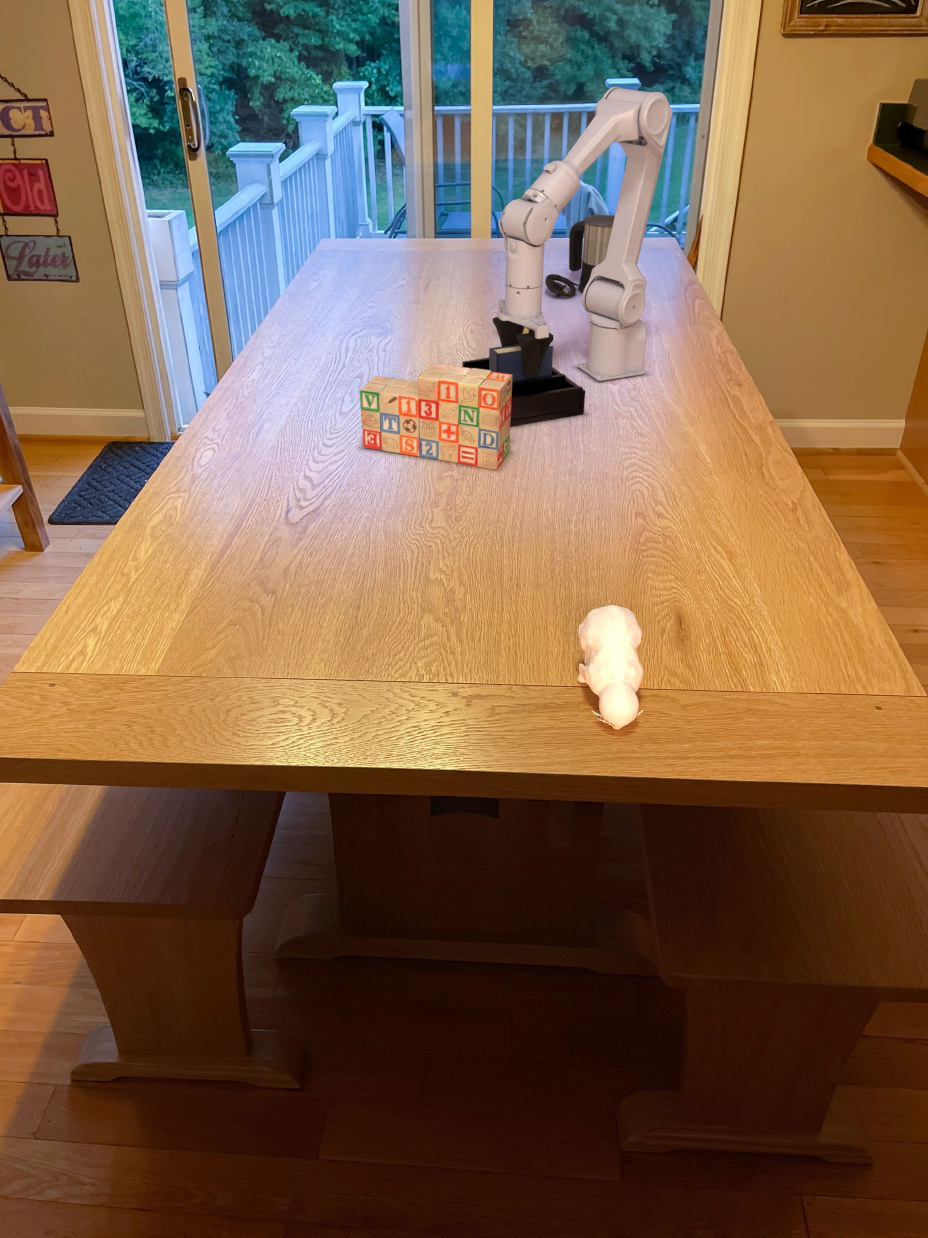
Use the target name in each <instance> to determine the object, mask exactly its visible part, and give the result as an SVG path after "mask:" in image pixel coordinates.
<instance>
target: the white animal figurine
mask: <svg viewBox="0 0 928 1238" xmlns="http://www.w3.org/2000/svg"><path fill="white" fill-rule="evenodd" d="M577 634H578V637H579V640H578V641H579V645H580V647H581V649H582V651H584V654H583V655H584V659H583V663H579V664H578V672H579V673H578V675H577V680H578V682H579V683H580V684H586V685H588V687H589V688H590V690H591V692H593V694H595V695H597V697H598V698H599V700H598V708H599V713H597V712H595V711H594V710H591V712H592V713H593V714H594V715H596V716H597V715H598V716H600V717H602V716H603V718H604V719H605V720H607V721H608V722H609V723H608V722H606V721H605V720H602V719H601V718H597V720H598V721H600V722H602V723H605V724H608V725H609V726H611V727H612V728H613V729H614V730H620V729H622V728H623V727H625V726H627V725H629V724H630V723H631V722H633V721H634V720H635V719H636V718H637V717H638V716H639V715H641V714H642V713H643V710H640V712H639V707H640V704H639V698H638V695H637V692H638V690H639V689H640V686H641V684H642V682H643V678H644V673H645V671H644V668H643V666H642V664H641V662H640V658H639V654H638V648H639V646H640V645H641V643H642V637H643V630H642V628H641V626H640V625H639V623H638V620H637V618H636V615H635V614H634V612H633V611H632V610H630V609H629V608H627V607H624V606H623V607H622V606H619V605H615V604H607V605H605V606H600V607H596V608H594V609H592V610H591V611H589V612H588V613H587V614H586V616H585V618H584V619H583V622H581V623H580V624H579V625H578V630H577ZM584 663H585V665H586V666H584ZM638 712H639V713H638ZM637 713H638V714H637ZM637 715H638V716H637ZM598 716H597V717H598ZM636 716H637V717H636ZM610 723H612V724H613V725H615V726H613V725H612V724H610Z"/></svg>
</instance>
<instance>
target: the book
mask: <svg viewBox="0 0 928 1238" xmlns="http://www.w3.org/2000/svg"><path fill="white" fill-rule="evenodd" d="M488 358H489V370H491V372H497V373H504V374H511V375H512V382H514V381H521V380H527V379H534V378H540V377H547V376H552V367H553V359H554V345H550V346H549V347H548V349H547V351H546V353H545V355H544V358H543V361H542V364H541V367H540V371H539V374H538V376H537V377H532V378H526V377H525V376H524V372H523V358H522V352H521V347H520V344H516V345H509V346H496V347H495V346H494V347H489V349H488Z"/></svg>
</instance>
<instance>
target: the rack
mask: <svg viewBox="0 0 928 1238" xmlns="http://www.w3.org/2000/svg"><path fill="white" fill-rule="evenodd" d="M461 362H462V363H461V365H462V366H461V367H464V368H476V369H484V370H489V357H485V358H484V357H483V358H477V359H470V360H464V361H461ZM511 402H512V404H511V420H510V428H511V427H518V426H524V425H530V424H535V423H541V422H547V421H552V420H553V421H554V420H558V419H565V418H570V417H577V416H582V415H584V413H585V402H586V390H585V389H584V387H582V386H581V385H579V384H577V383H575V382H574V381H573V380H572V379H570V378H568V377H567V375H566V374H564V373H562V372H560V371H559V370H558V369H556V368H555V367H554V366H552V376H547V377H540V378H534V379H527V380H521V381H514V382H512V401H511Z"/></svg>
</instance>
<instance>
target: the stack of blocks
mask: <svg viewBox="0 0 928 1238" xmlns="http://www.w3.org/2000/svg"><path fill="white" fill-rule="evenodd" d="M511 401H512V375H511V374H504V373H497V372H491V370H484V369H476V368H464V367H462V366H455V365H446V364H440V363H439V364H438V363H431V364H430V365H428V367H427V368H426V369H425V370H424V371H423V372H422V373H421V374H420V375H419V376H418V377H417V381H415V380H412V379H404V378H397V377H395V378H394V377H388V376H381V375H375V376H373V377H372V378H371V379H370V380H369V381H368V382H367V383H366V384H364V385H363V386H362V387H361V388H360V389H359V407H360V412H361V413H360V415H361V418H360V419H361V428H362V446H363V447H362V448H367V449H372V450H379V451H383V452H388V453H396V454H401V455H408V456H413V457H420V458H426V459H432V460H440V461H445V462H451V463H458V464H461V465H467V466H472V467H479V468H482V469H483V468H484V469H489V470H498V469H499V467H501V465H502V463H503V462H504V460H505V459H506V457H507V456H508V455H509V453H510V441H511V440H510V438H511V435H510V433H511V427H510V420H511V404H512V402H511Z"/></svg>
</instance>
